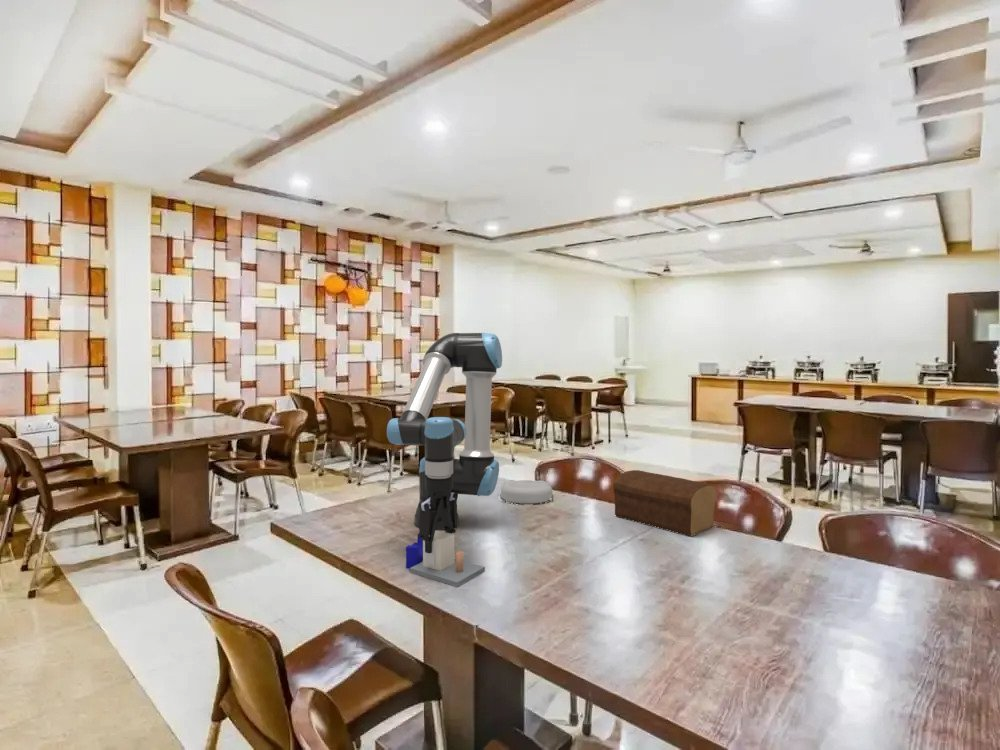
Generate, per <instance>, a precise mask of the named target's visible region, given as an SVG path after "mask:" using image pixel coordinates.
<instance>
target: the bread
mask: <svg viewBox="0 0 1000 750" xmlns="http://www.w3.org/2000/svg"><path fill="white" fill-rule="evenodd" d="M613 493H614V495H613V496H614V516H615V515H616V516H615V517H618V516H619V517H618V518H621V517H622V519H624V518H626V519H625V520H628V519H630V520H629V521H632V520H634V521H633V522H635V521H637V522H636V523H638V522H641V523H640V524H642V523H645V524H644V525H646V524H650V525H653V526H656V527H655V528H657V527H659V528H658V529H660V528H663V529H662V530H664V529H668V530H671V531H670V532H672V531H674V532H673V533H675V532H678V533H677V534H679V533H682V534H681V535H683V534H685V535H684V536H687V535H688V537H693V535H694V534H696V533H698V534H700V533H702V532H704V531H706V530H708V529H707V528H709V527H711V528H713V527H714V517H715V516H714V513H715V505H716V499H717V488H716V487H715V486H714V485H712V484H708V483H705V482H704V483H703V482H701V481H695V480H690V479H687V478H682V477H676V476H671V475H664V474H661V473H655V472H648V471H644V470H640V469H639V470H638V469H637V470H636V469H635V470H633V469H631V470H627V471H624V472H622V473H620V474H619V475H617V476H616V477H615V479H614V481H613ZM650 525H649V526H650ZM653 526H652V527H653ZM705 529H706V530H705ZM709 529H710V528H709ZM668 530H667V531H668ZM703 530H704V531H703ZM701 531H702V532H701ZM699 532H700V533H699ZM696 535H697V534H696ZM694 536H695V535H694Z"/></svg>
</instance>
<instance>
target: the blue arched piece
mask: <svg viewBox="0 0 1000 750" xmlns="http://www.w3.org/2000/svg"><path fill="white" fill-rule="evenodd" d="M421 562H423V540H420V539H419V533H418V534H417V541H416V542H413V543H412V544H411V545H410V544H408V545H407V546H406V547H405V565H406V566H405V568H406V569H409V570H410V568H411V567H413V566H415V565H417V564H419V563H421Z"/></svg>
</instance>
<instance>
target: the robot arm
mask: <svg viewBox="0 0 1000 750" xmlns="http://www.w3.org/2000/svg"><path fill="white" fill-rule="evenodd" d="M422 365H423V366H422V367H421V371H420V373H419V375H418V378H417V380H416V382H415V384H414V387H413V388H412V391H411V393H410V396H409V397H408V400H407V403H406V404H405V407H404V410H403V412H402V414H401V416H400V417H396V418H391V419H390V420H389V421H388V423H387V426H386V437H387V440H388V442H389V443H391V444H393V445H400V446H401V445H402V446H424V457H423V458H422V459H420V461H419V470H418V475H419V476H418V477H419V478H418V479H419V483H418V485H419V492H418V493H419V501H418V503H417V508H416V511H415V514H414V517H413V518H414V520H413V523H414V525H415V526H416V527H417V528H419V529H418V530H419V531H418V534H419V539H420V540H424V541H425V552H426V563H427V564H430V565H433V566H434V565H436V541H435V540H433V539H434V534H435V531H437V530H443V532H446V533H450V534H455V533H457V532H456V531H457V530H456V529H458V527H459V526H458V525H459V524H460V515H459V512H458V496H459V495H464V496H465V495H468V496H477V497H480V496H481V497H482V496H483V497H484V496H485V497H487V496H488V497H489V496H491V495H492V494H493V493H494V492H495V489H496V487H497V483H498V479H499V475H500V474H499V473H500V463H499V461H497V460H496V459H495V454H494V453H493V452H492V451H491V449H490V447H491V446H490V445H491V424H492V423H491V422H492V421H491V419H492V418H491V417H492V416H491V415H492V385H493V383H492V382H493V380H492V379H493V378H494V377H495V376H496V375H497V369H500V368H501V367H502V366H503V353H502V346H501V342H500V339H499V337H498V336H497V335H496V334H494V333H488V332H487V333H486V332H451V333H448V334H445V335H443V336H442V337H440V338H439V339H437V340H435V342H433V343H432V345H431V346H430V347H429V348H428V349H427V350H426V352H425V354H424V356H423V358H422ZM452 368H461V373H462V375H464V377H465V381H466V382H465V411H464V413H465V414H464V419H465V420H464V422H463V421H461V419H458V418H451V417H447V416H434V417H429V415H430V413H431V410H432V408H433V405H434V402H435V400H436V398H437V395H438V393H439V390H440V388H441V385H442V383H443V381H444V378H445V375H447V374H449V372H450V370H451V369H452ZM463 441H464V444H463V450H462V451H461V452H460V453H459V457H458V458H455V455H454V448H455V447H457V446H459V445H460V444H462V442H463ZM429 535H430V536H429Z"/></svg>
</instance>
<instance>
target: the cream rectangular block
mask: <svg viewBox="0 0 1000 750" xmlns="http://www.w3.org/2000/svg"><path fill="white" fill-rule="evenodd" d="M429 536H430V535H429ZM433 540H435V541H436V565H434V566H433V565H430V564H427V563H426V552H425V541H424V540H423V566H425V567H429V568H432V569H436V570H439V571H441V570H443V569H445V568H447V567H449V566H451V565H453V564H455V559H456V551H455V533H452V534H450V533H446V531H441V530H435V534H434V539H433Z"/></svg>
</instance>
